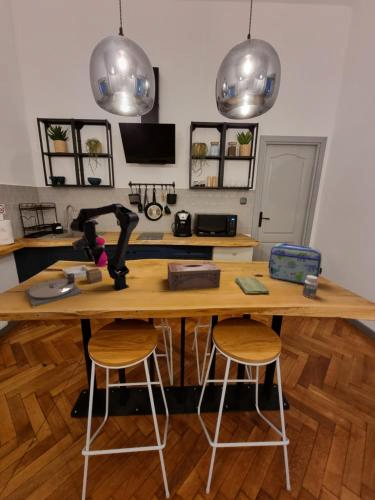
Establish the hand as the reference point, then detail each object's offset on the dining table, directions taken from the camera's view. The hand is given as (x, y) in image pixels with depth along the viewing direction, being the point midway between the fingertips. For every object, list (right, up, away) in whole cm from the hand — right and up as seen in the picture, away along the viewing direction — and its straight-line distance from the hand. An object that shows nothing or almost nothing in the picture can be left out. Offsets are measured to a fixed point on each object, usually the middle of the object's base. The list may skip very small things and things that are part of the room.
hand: (92, 262), depth 111 cm
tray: (-14, -8, +11) cm, 19 cm away
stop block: (0, -10, +3) cm, 11 cm away
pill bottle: (+110, -16, -7) cm, 111 cm away
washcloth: (+84, -14, +1) cm, 85 cm away
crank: (-13, -12, -11) cm, 21 cm away
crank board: (-13, -14, -11) cm, 22 cm away
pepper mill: (-6, -4, +27) cm, 28 cm away
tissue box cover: (+53, -12, +4) cm, 54 cm away
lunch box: (+110, -11, +12) cm, 111 cm away
